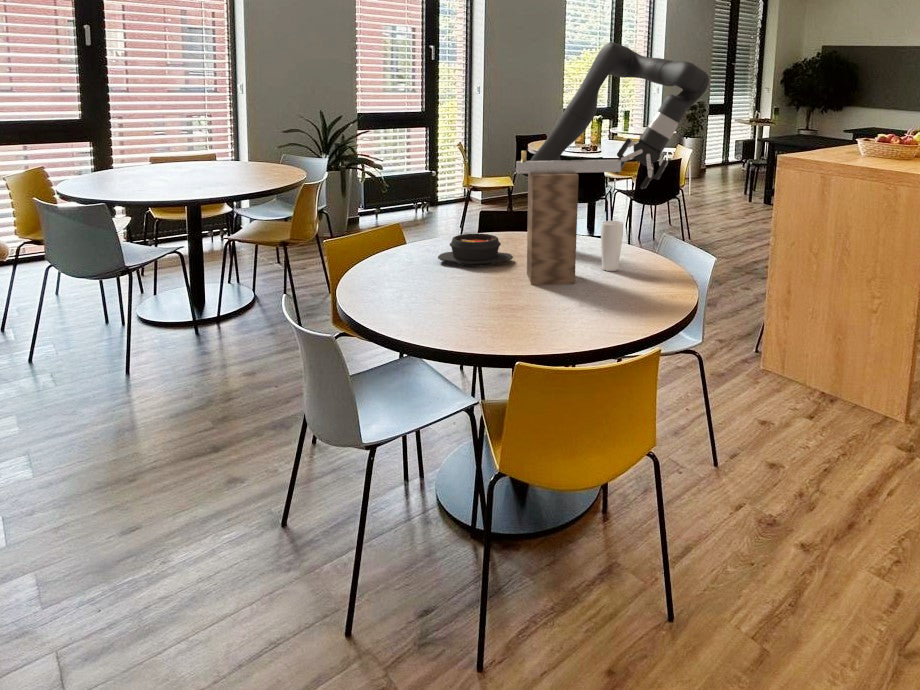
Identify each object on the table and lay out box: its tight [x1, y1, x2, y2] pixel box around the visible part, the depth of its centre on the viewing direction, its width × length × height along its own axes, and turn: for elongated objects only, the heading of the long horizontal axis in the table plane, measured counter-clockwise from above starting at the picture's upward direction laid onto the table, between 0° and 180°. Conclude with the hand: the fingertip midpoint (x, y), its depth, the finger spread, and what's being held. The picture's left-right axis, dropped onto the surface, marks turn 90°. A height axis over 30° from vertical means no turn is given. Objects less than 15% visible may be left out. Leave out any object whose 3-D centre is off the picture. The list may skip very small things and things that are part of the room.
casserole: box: [437, 233, 514, 267], centre depth 263 cm, size 25×19×8 cm
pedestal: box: [526, 173, 579, 286], centre depth 237 cm, size 13×13×32 cm
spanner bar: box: [515, 150, 622, 175], centre depth 231 cm, size 30×3×6 cm, turn 91°
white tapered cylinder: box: [600, 220, 624, 272], centre depth 250 cm, size 7×7×15 cm
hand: (628, 181), depth 236 cm, fingers open, 8 cm apart
